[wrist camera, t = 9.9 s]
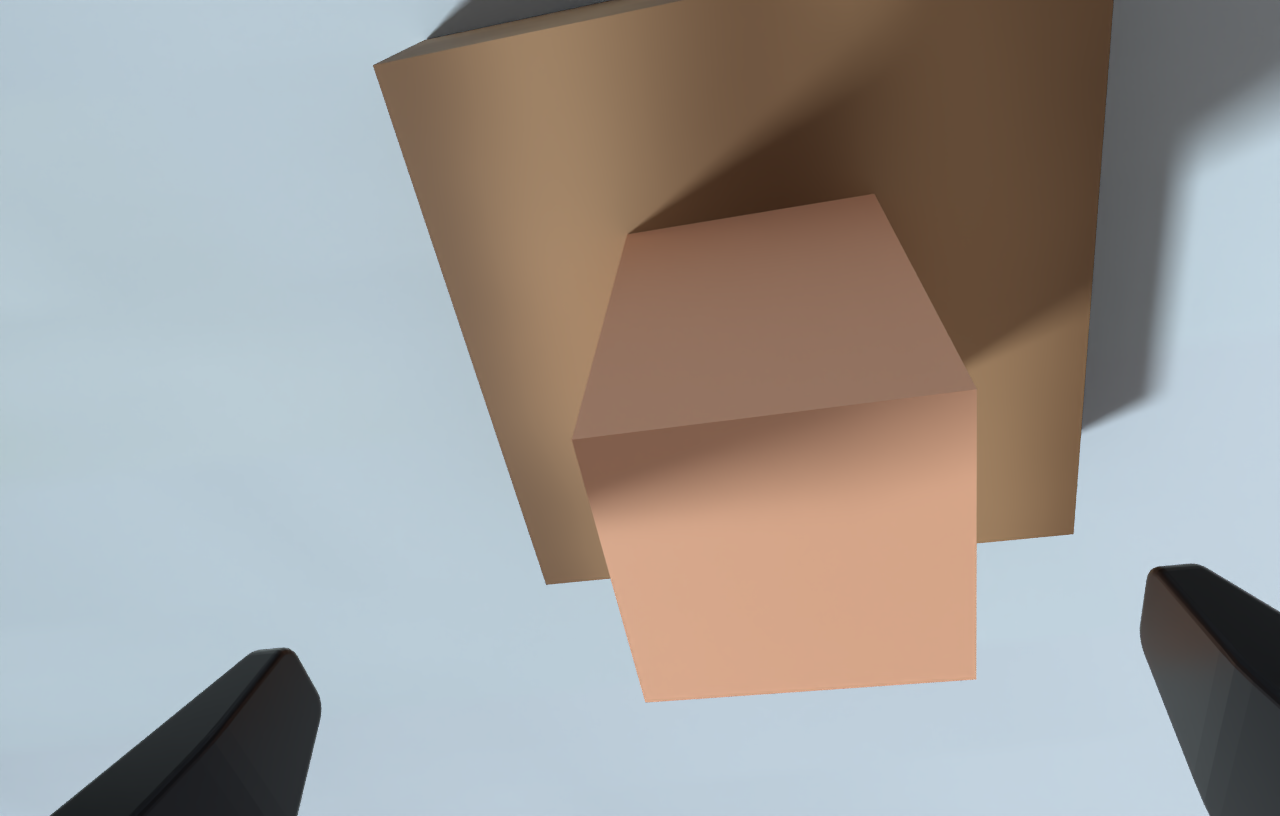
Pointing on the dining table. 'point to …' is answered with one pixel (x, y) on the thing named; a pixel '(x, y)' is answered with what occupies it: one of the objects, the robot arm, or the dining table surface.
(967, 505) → the terracotta block
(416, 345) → the dining table surface
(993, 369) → the walnut base
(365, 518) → the dining table surface
